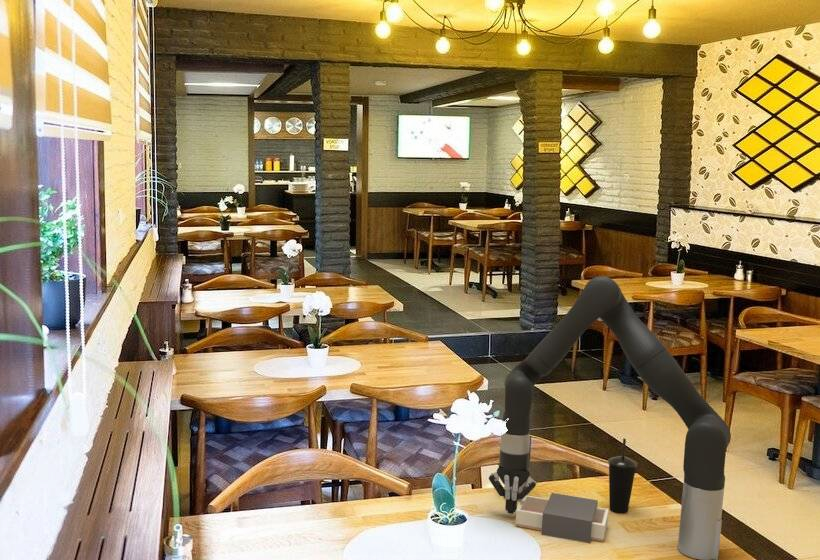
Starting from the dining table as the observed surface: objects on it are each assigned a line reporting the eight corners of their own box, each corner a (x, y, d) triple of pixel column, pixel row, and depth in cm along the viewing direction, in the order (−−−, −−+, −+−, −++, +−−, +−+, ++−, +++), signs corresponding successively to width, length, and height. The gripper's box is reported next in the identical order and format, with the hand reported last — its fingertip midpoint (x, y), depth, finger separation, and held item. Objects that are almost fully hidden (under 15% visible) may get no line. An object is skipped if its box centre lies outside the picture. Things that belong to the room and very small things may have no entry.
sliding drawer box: (607, 524, 211) (608, 509, 210) (603, 541, 200) (604, 525, 200) (523, 509, 218) (524, 494, 217) (515, 525, 207) (516, 510, 207)
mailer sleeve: (596, 520, 213) (597, 500, 213) (590, 543, 200) (591, 521, 199) (550, 512, 217) (551, 492, 216) (541, 534, 203) (542, 512, 203)
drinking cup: (621, 518, 216) (627, 445, 213) (598, 508, 221) (604, 437, 219) (639, 511, 220) (645, 440, 218) (615, 502, 226) (621, 432, 224)
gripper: (542, 447, 212) (538, 511, 214) (493, 440, 216) (489, 503, 219) (537, 456, 205) (533, 522, 207) (486, 449, 209) (482, 513, 211)
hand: (510, 512), depth 213 cm, fingers closed
